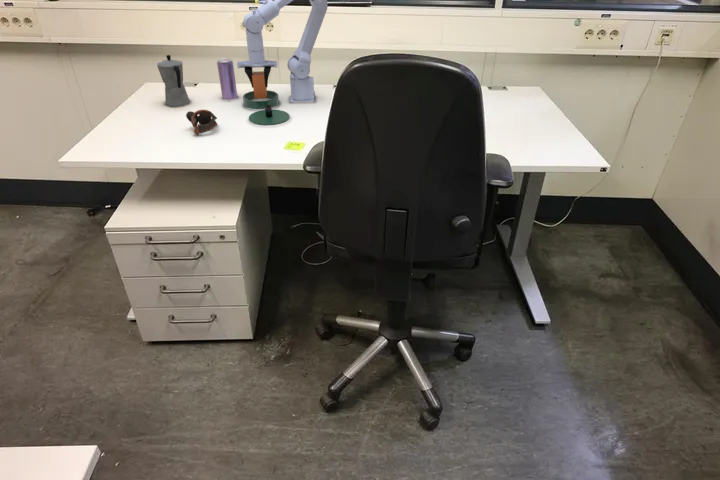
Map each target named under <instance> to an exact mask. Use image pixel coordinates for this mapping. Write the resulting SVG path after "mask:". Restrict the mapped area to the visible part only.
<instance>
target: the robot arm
mask: <svg viewBox="0 0 720 480" xmlns="http://www.w3.org/2000/svg"><path fill="white" fill-rule="evenodd" d="M293 1H294V0H264V1H262V4H261V5H260V6H258V7H257V8H256V9H252V10H251V13H250V12H249V13H246V14H245V16H244V17H243V21H242V25H243V27H244V28H245V36H246V38H245V39H246V47H247V56H248V60H242V61H237V62H236V66H237V69H244V71H243V72H244V73H245V74H246V76H247V78H248V79H249V82H250V85H251V89H253V81H252V74H253V72H254V70H253V68H254V69H255V68H263V71H264V75H265V87H267V88H268V83H269V77H270V73H271V70H272V68H275V69H276V68H278V60H267V59H266V58H265V50H264V39H263V30H264V26H266V25H267V24H268V23H270V22H271V21H273V20H274V19H275V18H277V17H278V16H279V15H280V12H281V9H282V8H284V7H286V6H287V5H289V4H290V3H292V2H293ZM308 1H309V3H310V5H311V10H310V12H309V15H308V18H307V21H306V24H305V27H304V28H303V32H302V35H301V38H300V40H299V44H298V46H297V48H296V50H294V52H293V53H292V56H291V57H290V58H289V59H288V60H287V64H286V65H287V69H288V70H289V72H290V74H289V84H290V85H289V86H290V97H289V102H290V103H294V102H297V103H299V102H315V96H316V91H315V83H314V80H315V79H314V76H310V73H311V67H310V66H311V63H312V58H311V57H312V56H311V54H312V52H313V48H314V46H315V44H316V40H317V38H318V35H319V33H320V29H321V27H322V24H323V22H324V19H325V16H326V14H327V11H328V0H308ZM265 59H266V60H265Z"/></svg>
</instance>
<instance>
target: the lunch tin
mask: <svg viewBox="0 0 720 480" xmlns="http://www.w3.org/2000/svg"><path fill="white" fill-rule="evenodd" d="M279 98H280V96H279V93H278V92H276V91H273V90H270V89H269V90H268V89H267V97H266V98H265V100H257V99H258V98H254V90H252V91H248V92H246V93H244V94H243V95H242V103H243V106H244V107H245V108H247V109H250V110H265V106H266V105H271V106H272V108H275V107H276V106H278V105H279V104H280V99H279Z"/></svg>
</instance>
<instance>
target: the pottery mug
mask: <svg viewBox="0 0 720 480" xmlns="http://www.w3.org/2000/svg"><path fill="white" fill-rule="evenodd" d="M185 117H186V119H187V120H188V121H189V122H190V123H191V125H192V127H193V128H194V129H193V133H194V135H196V136H199V135H200V134H203V133H207V132H210V131H211V130H213V129H214V127H216V126H219V124H218V122H217V121H216V120H217V119H218V117H217V115H214V113H213V112H212V111H210V110H208V109H199V110H198V109H197V110H196V111H187V112H186V114H185Z"/></svg>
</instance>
